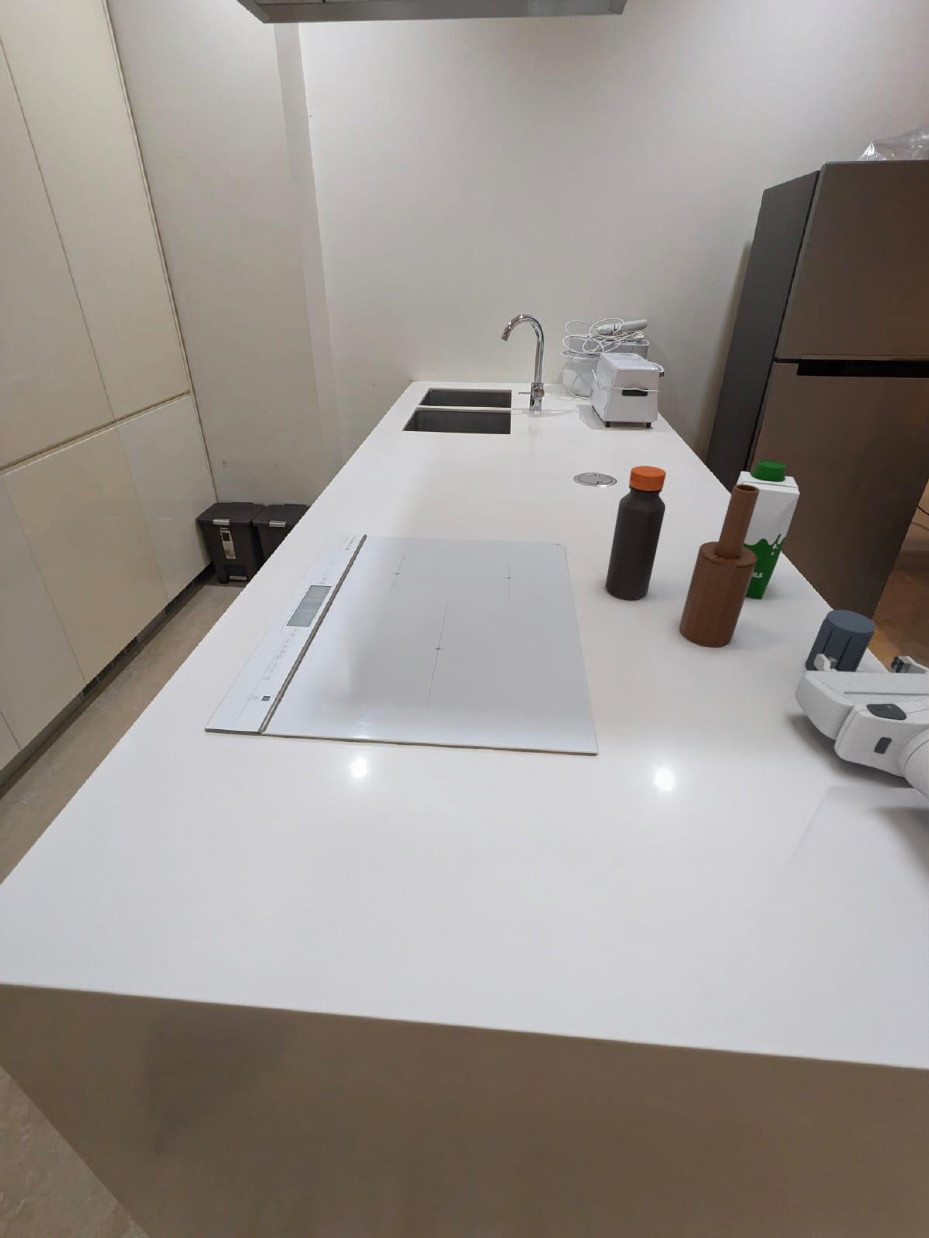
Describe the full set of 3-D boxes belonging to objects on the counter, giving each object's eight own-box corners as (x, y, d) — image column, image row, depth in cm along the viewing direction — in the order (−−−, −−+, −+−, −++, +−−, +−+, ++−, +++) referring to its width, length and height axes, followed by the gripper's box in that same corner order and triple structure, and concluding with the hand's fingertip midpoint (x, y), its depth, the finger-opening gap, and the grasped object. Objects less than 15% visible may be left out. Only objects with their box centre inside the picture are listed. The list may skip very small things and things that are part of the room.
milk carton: (763, 578, 99) (801, 463, 89) (768, 603, 92) (810, 481, 81) (709, 569, 102) (740, 456, 91) (710, 593, 95) (743, 474, 84)
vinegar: (633, 605, 91) (658, 482, 80) (596, 590, 95) (615, 470, 84) (654, 590, 95) (681, 471, 84) (618, 576, 99) (639, 460, 88)
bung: (838, 659, 80) (860, 610, 75) (859, 684, 75) (885, 633, 71) (798, 658, 80) (819, 608, 75) (818, 683, 75) (840, 631, 71)
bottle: (703, 615, 89) (743, 475, 77) (742, 639, 83) (790, 493, 72) (668, 626, 86) (704, 483, 74) (706, 652, 81) (750, 502, 69)
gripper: (1052, 719, 58) (957, 640, 70) (846, 713, 58) (785, 636, 70) (1019, 763, 61) (933, 681, 73) (824, 758, 62) (770, 677, 73)
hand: (859, 659), depth 71 cm, fingers open, 8 cm apart
